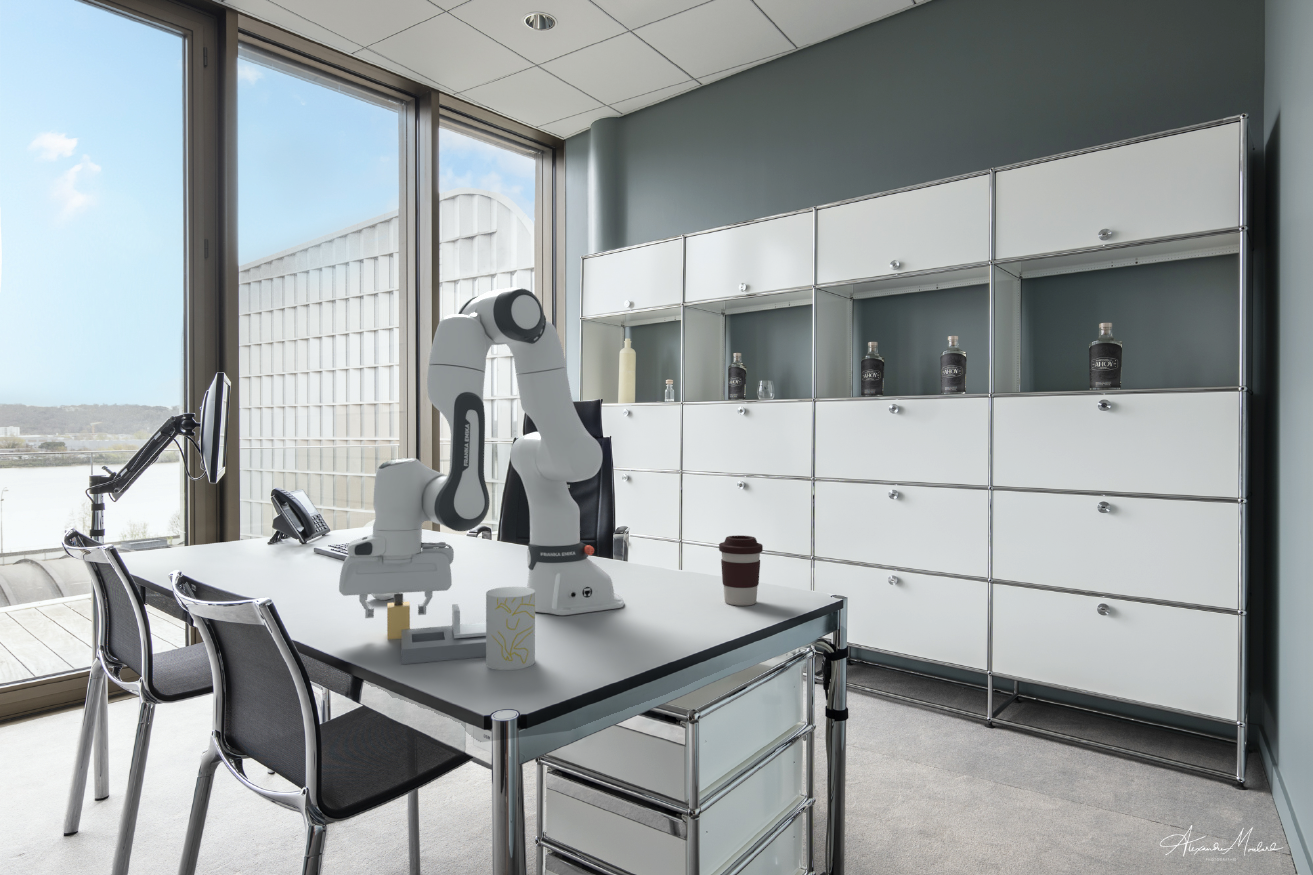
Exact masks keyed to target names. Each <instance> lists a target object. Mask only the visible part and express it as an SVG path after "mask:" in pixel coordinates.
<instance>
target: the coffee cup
mask: <svg viewBox="0 0 1313 875" xmlns="http://www.w3.org/2000/svg"><path fill="white" fill-rule="evenodd" d="M763 547H764V546H763V544H762V543H760V542H759V543H758V541H757V538H756V537H755V536H751V535H729V536H726V537H725V539H724V541H723V542H720V543H719V544H718V550H719V552H721V560H720V562H721V563H720V564H721V577H722V578H721V579H722V585H723V597H724V602H725V603H726V604H728V605H731V606H737V607H738V606H739V607H741V606H743V607H747V606H752V605H755V604H756V603H757V597H758V596H757V595H758V587H759V582H760V569H761V560H760V557H761V553H762V552H763V551H764V550H763V549H764V548H763Z"/></svg>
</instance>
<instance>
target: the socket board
mask: <svg viewBox="0 0 1313 875" xmlns="http://www.w3.org/2000/svg"><path fill="white" fill-rule="evenodd" d="M400 639H401V642H400V643H401V644H400V645H401V665H410V664H411V665H412V664H419V663H420V664H421V663H422V664H423V663H430V662H431V663H432V662H442V661H452V660H453V661H454V660H462V659H464V660H465V659H474V658H484V657H485V658H486V636H477V637H465V638H454V634H453V631H452V625H443V626H429V627H417V628H410V629H404V630H401V638H400Z"/></svg>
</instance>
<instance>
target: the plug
mask: <svg viewBox="0 0 1313 875" xmlns="http://www.w3.org/2000/svg"><path fill="white" fill-rule="evenodd" d="M393 598H394V599H393V602H387V608H386V609H387V611H386V612H387V617H386V619H387V620H386V622H387V623H386V625H387V627H386V628H387V629H386V631H387V632H386V633H387V634H386V636H387V641H388V640H396V639H397V640H399V639H401V630H404V629H411V620H410V619H411V616H410V615H411V611H410V610H411V608H410V607H411V604H410V601H404V593H396V594H394V597H393Z"/></svg>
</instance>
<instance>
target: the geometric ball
mask: <svg viewBox="0 0 1313 875" xmlns="http://www.w3.org/2000/svg"><path fill="white" fill-rule="evenodd" d="M394 594H396V593H387V594H370V595H371V597H373V598H374V599H377V600H380V601H386V600H391V599H393V598H394Z"/></svg>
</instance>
